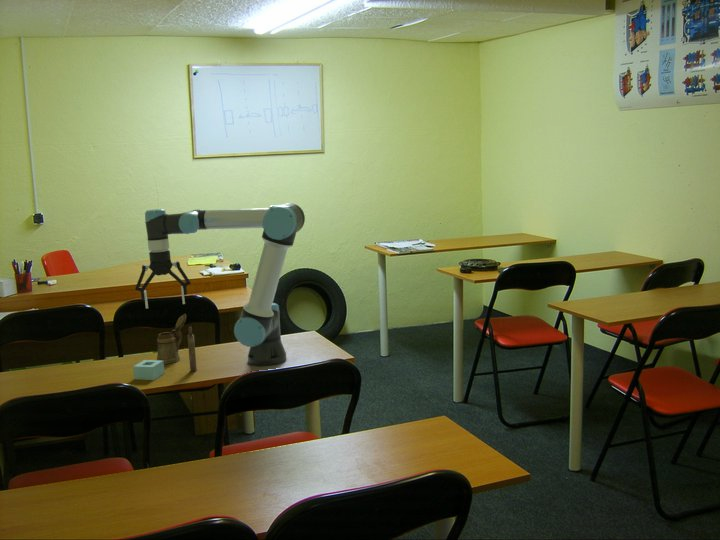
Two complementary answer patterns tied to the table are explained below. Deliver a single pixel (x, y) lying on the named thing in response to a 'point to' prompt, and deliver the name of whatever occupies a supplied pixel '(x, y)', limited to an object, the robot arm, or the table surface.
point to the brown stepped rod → (192, 351)
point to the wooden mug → (170, 343)
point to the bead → (148, 369)
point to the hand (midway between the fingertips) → (165, 305)
